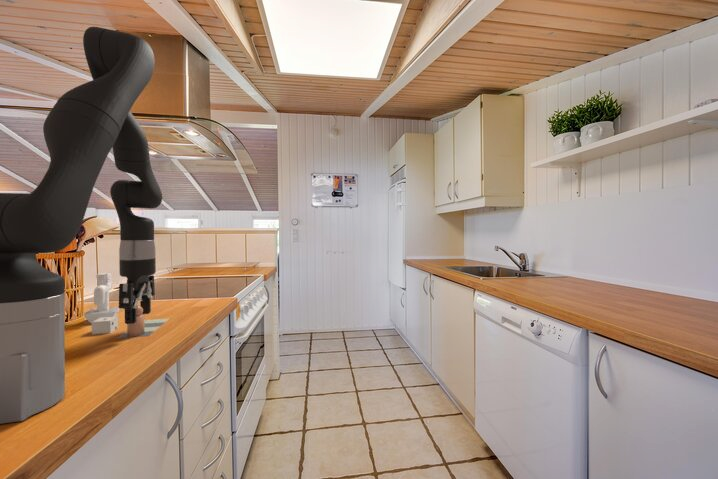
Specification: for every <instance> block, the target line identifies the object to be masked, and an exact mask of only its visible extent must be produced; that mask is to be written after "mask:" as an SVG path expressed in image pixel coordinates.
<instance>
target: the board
mask: <svg viewBox="0 0 718 479" xmlns="http://www.w3.org/2000/svg"><path fill="white" fill-rule="evenodd" d="M169 320H170V318H159V319H158V318H157V319H145V333H144V334H143V335H140V336H136V337H135V338H140V337H141V338H143V337H149V336H150V335H151V334H153V333H154V332H155V331H156V330H158V329H159V328H160V327H161V326H162V325H164V324H165V323H166V322H168V321H169ZM127 338H128V339H129V338H131V339H132V337H128V336H127V330H126V331H125V332H123V333H121V334H120V335H119V336H117V337H116V338H115V339H118V340H119V339H127Z"/></svg>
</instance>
